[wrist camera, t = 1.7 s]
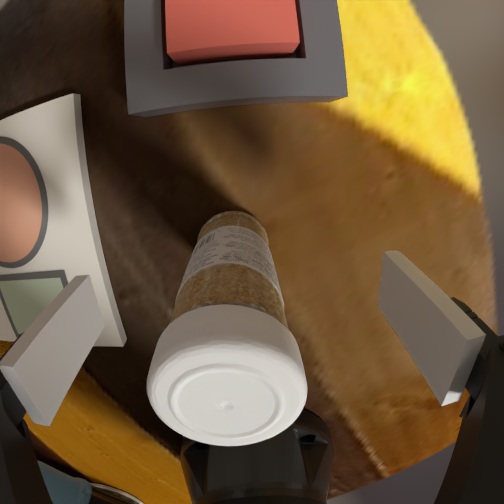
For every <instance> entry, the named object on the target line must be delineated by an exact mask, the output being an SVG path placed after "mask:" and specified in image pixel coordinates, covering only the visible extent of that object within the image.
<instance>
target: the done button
mask: <svg viewBox="0 0 504 504" xmlns="http://www.w3.org/2000/svg"><path fill="white" fill-rule="evenodd" d="M165 15H166V42H167V54H168V55H169V56H170V57H171V58H172V59H173V60H174V61H175V62H176V63H177V64H178V66H182V65H189V64H196V63H204V62H213V61H222V60H233V59H247V58H266V57H290V56H291V55H292V53H293V52H294V50H295V49H296V48H297V46H298V45H299V43H300V39H299V30H298V21H297V13H296V5H295V0H165Z"/></svg>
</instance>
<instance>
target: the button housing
mask: <svg viewBox="0 0 504 504" xmlns="http://www.w3.org/2000/svg"><path fill="white" fill-rule="evenodd" d="M295 5H296V13H297V21H298V30H299V39H300V43H299V45H298V46H297V48H296V49H295V50H294V52H293V53H292V55H291V56H290V57H266V58H247V59H233V60H222V61H213V62H204V63H196V64H189V65H182V66H178V64H177V63H176V62H175V61H174V60H173V59H172V58H171V57H170V56H169V55H168V54H167V42H166V15H165V0H124V47H125V74H126V91H127V105H128V114H129V115H136V116H143V117H151V116H157V115H163V114H169V113H176V112H183V111H190V110H198V109H207V108H216V107H226V106H237V105H250V104H267V103H292V102H332V101H335V100H338V99H341V98H345V97H348V92H347V80H346V69H345V60H344V50H343V42H342V34H341V26H340V19H339V12H338V6H337V0H295Z"/></svg>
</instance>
